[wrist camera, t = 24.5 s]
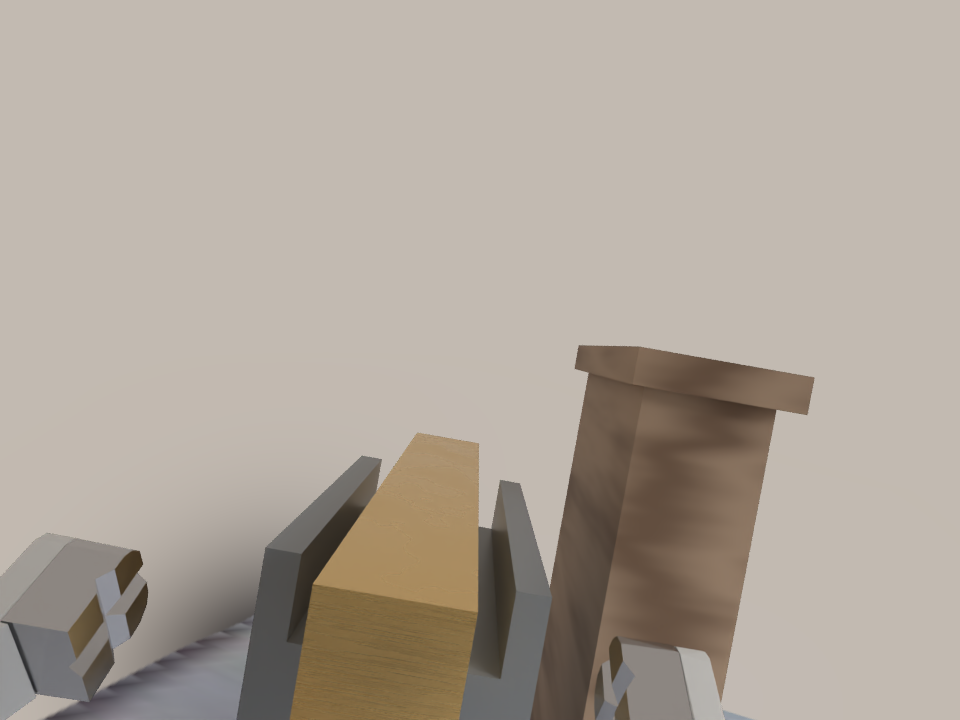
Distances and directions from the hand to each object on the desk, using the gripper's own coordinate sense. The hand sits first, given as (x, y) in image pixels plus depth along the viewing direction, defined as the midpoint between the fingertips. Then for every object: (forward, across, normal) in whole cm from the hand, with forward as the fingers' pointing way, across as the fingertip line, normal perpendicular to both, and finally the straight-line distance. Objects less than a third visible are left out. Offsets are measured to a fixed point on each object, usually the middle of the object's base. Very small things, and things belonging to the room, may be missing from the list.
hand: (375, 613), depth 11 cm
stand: (+9, -11, +28) cm, 31 cm away
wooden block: (+10, 0, +10) cm, 14 cm away
